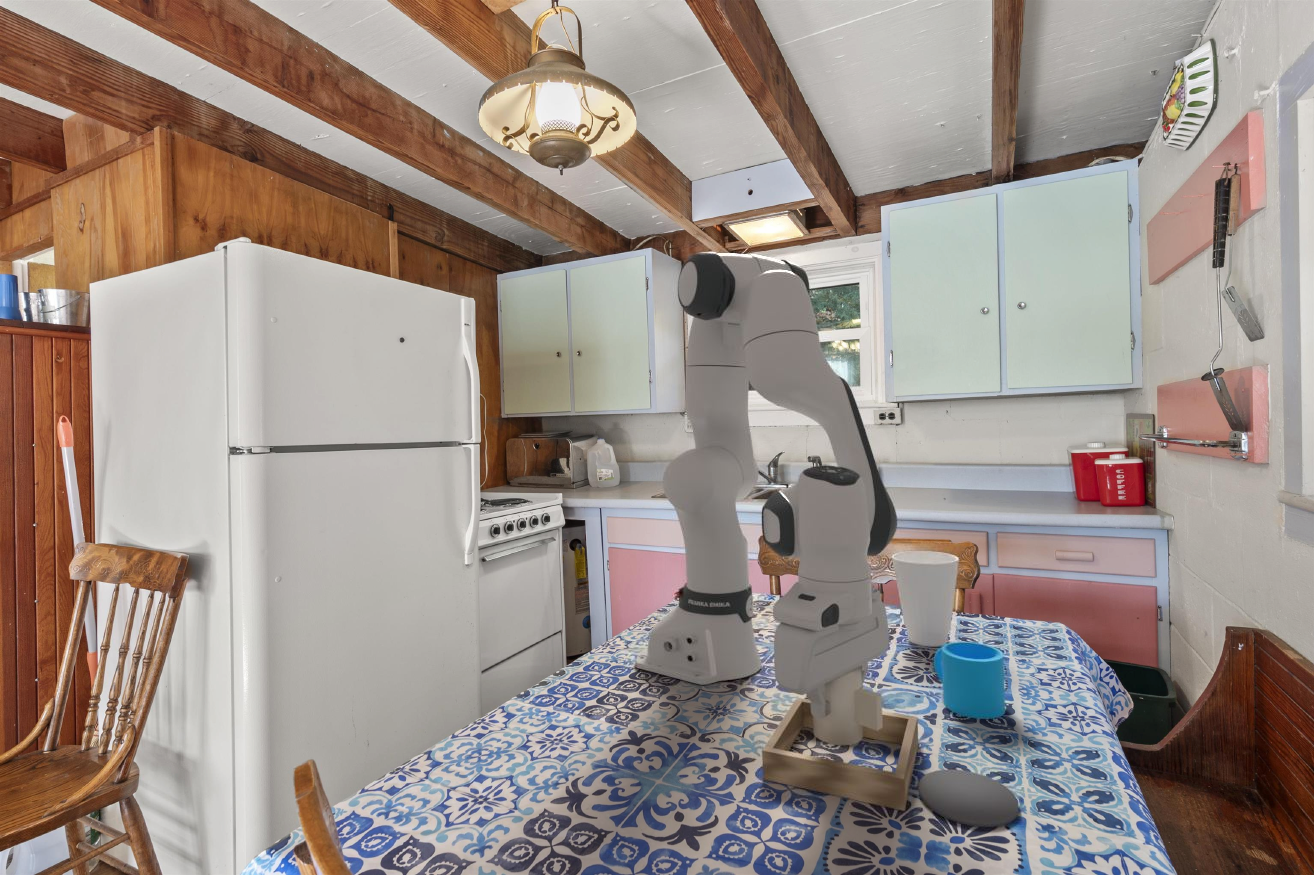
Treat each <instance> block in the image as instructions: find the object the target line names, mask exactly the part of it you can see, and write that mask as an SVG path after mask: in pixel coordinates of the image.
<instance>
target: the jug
mask: <svg viewBox="0 0 1314 875" xmlns="http://www.w3.org/2000/svg"><path fill="white" fill-rule="evenodd" d="M822 694H823V697H824V699H825V700H826V701H829V702H830V708H829V710H830V714H829V715H828V716H826V717H824V718H822V719H819V718H817V717H814V716H813V728H812V729H813V730H812V732H813V735H814V736H815V737H816V738H817V739H818V740H820V741H821V742H824V743H827V744H830V745H836V746H850V745H851V746H852V745H855V744H857V743H859V742H861V741H862V739H863V738H864V737H863V726H866V727H868V728H871V729H874V730H876V731H878V730H879V729H881V728H882V727H883V725H882V711H883V694H881V693H879V692H876V691H872V690H869V689H866V688H862V681H861V670H860V669H859V668H858V667H857V668H855V669H853V670H851V671H849V672H847V673H845V674H843V675H842V676H840V677H838V678H836V679H834V680H832V681H830V682H828V683H826V684H825V691H824V692H822Z"/></svg>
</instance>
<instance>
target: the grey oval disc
mask: <svg viewBox="0 0 1314 875" xmlns="http://www.w3.org/2000/svg"><path fill="white" fill-rule="evenodd" d="M918 794H919V797H920V800H921V802H923V804H924V805H925V806H927V808H929V809H930V810H931V812H934V813H935V814H937V815H939V816H941V817H943V818H945V819H947V820H949V821H952V822H955V823H958V824H961V825H966V826H970V827H978V828H995V827H1001V826H1005V825H1008V824H1010V823H1012V822H1014V820H1016V819H1017V817H1018V815H1019V802H1018V799H1017V796H1016V795H1015V794H1014V793H1013V791H1012V790H1011V789H1009V788H1008V787H1007V786H1006V785H1005V784H1003V783H1001V782H999V781H997V780H996V779H993V778H990V777H989V776H986V775H983V774H980V773H977V772H972V771H970V770H969V771H968V770H963V769H962V770H961V769H939V770H933V771H931V772H930V771H929V773H926V774H925V775H923V776H922V777H921V778H920V779H919V782H918Z"/></svg>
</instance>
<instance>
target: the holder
mask: <svg viewBox="0 0 1314 875" xmlns="http://www.w3.org/2000/svg"><path fill="white" fill-rule="evenodd" d="M918 722H919V721H918V716H914V715H910V714H909V715H908V714H907V715H906V714H901V713H895V712H891V711H890V712H889V711H883V710H882V725H883V727H882V728H881V729H879V730H878V731H876V730H874V729H871V728H868V727H866V726H863V738H865V739H871V740H872V739H873V740H878V741H883V742H888V743H889V742H890V743H895V744H900V745H901V748H900V751H899V756H898V759H897V763H896V764H897V765H896V767H895V771H894V772H893V771H889V770H885V769H877V768H873V767H868V766H864V765H860V764H859V765H858V764H854V763H848V762H844V761H838V760H834V759H828V758H824V757H819V756H814V755H809V754H804V753H798V752H794V751H790V749H791V748H792V746H793V744H794V743H795V741H796V739H797V738H798V736H799V734H800V732H801V730H802V729H803V727H806V728H811V729H813V715H812V714H811V701H810V700H809V698H801V697H796V698H795V700H794V702H793V703H792V705H791V706H790V707H789V709H788V710H787V712H786V713H785V715H784V716H783V718H782V720H781V721H779V724H778V726H777V727H776V729H775V730H774V732H773V733H772V735H771V736H770V738H769V739H768V741H767V742H766V744H765V746H764V747H763V748H762V750H761V754H762V755H761V756H762V757H761V758H762V759H761V760H762V762H761V763H762V780H765V781H770V782H775V783H779V784H784V785H788V786H792V787H796V788H800V789H801V788H802V789H806V790H810V791H814V792H819V793H823V794H827V795H832V796H836V797H840V798H841V797H842V798H846V799H850V800H854V801H859V802H864V803H869V804H873V805H876V806H879V807H886V808H890V809H894V810H899V811H903V812H905V811H906V807H907V801H908V796H909V791H910V788H911V781H912V776H913V772H914V768H915V763H916V762H915V761H916V757H917V751H918V747H919V725H918V724H919V723H918Z"/></svg>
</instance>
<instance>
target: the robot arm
mask: <svg viewBox="0 0 1314 875" xmlns="http://www.w3.org/2000/svg"><path fill="white" fill-rule="evenodd" d="M678 276H679V277H678V279H677V280H678V281H677V297H678V302H679V304H680V306H681V308H682V309H683V311H684V312H685V313H686V314H687V315H689V316H691V317H693V318H692V321H691V326H690V330H689V336H688V341H687V351H686V362H685V364H686V366H685V388H684V389H685V390H684V391H685V393H684V410H685V415H686V416H687V418H688V420H689V422H690V426H691V428H692V429H691V430H692V433H693V438H694V445H695V448H690V449H689V450H686V451H684V452H683V453H680V454H679V455H678V456H676V457H675V458H674V459H672V460H671V461H670V462H669V463H668V465H667V466H666V468H665V470H664V472H663V477H662V487H663V492H664V495H665V497H666V498H667V500H668V502H669V503H670V504H671V505H672V506H673V508H674V510H675V513H676V515H677V519H678V522H679V525H680V529H681V532H682V536H683V543H684V550H685V552H684V555H685V568H686V569H685V570H686V582H685V583H684V585H683V586H682V587H680V588H679V589H678V591H676V592H674V593H673V594H674V595H675V596H674V600H677V599H678V605H677V607H675V608H674V609H673V610H671V611H670V612H669V613H668V614H666V615H665V616H664V617H663V618H661V619H660V620H659V621H657V623H655V624H654V626H653V627H652V628H651V631H650V633H649V637H648V642H647V643H648V645H647V647H646V648H645V649H643V650H642V651H641V652H639V654H638V655H637V657H636V659H635V667H636V668H637V669H641V670H644V671H647V672H652V673H656V674H660V675H663V676H665V677H666V676H667V677H670V678H674V679H679V680H682V681H685V682H689V683H693V684H697V685H704V686H705V685H709V684H712V683H713V684H714V683H717V682H721V681H722V682H723V681H728V680H729V681H730V680H737V679H743V678H746V677H749V676H752V675H754V674H756V673H757V672H759V671H760V669H761V668H762V666H763V664H762V660H761V657H760V653H759V651H758V647H757V643H756V642H757V641H756V638H755V633H754V625H753V617H754V597H753V589H752V588H753V587H752V585H751V583H750V571H749V569H750V568H749V566H750V565H749V545H748V544H749V543H748V540H747V538H746V536H745V535H744V534H743V531H742V528H741V523H740V521H739V517H738V513H737V507H736V506H737V503H738V502H741V501H742V500H744V499H745V498H747V496H749V494H750V493H751V492H752V491H753V490H754V488H755V486H756V484H757V483H758V479H759V475H760V474H759V466H758V463H757V461H756V459H755V456H754V449H753V442H752V437H751V436H752V435H751V428H750V422H749V421H750V420H749V388H750V387H749V384H750V385H751V387H752V388H753V389H754V390H755V392H756V393H758V394H759V395H760V396H761V397H762V398H764V400H766V401H768V402H770V403H771V404H774V405H775V406H778V407H781V408H784V409H786V410H790V411H793V412H796V413H798V414H800V415H803V416H805V417H807V418H809V419H811V420H813V421H814V422H816V423H817V424H819V426H820V427H822V429H823V430H824V432H825V433H826V434H827V437H828V440H829V442H830V446H831V449H832V451H833V456H834V459H835V462H836V465H837V466H835V465H817V466H811V467H807V468H806V469H804V470H802V471H801V473H800V474H799V475H798V479H797V480H798V481H797V482H796V483H794V484H793V485H791V486H789V487H786V488H783V489H781V490H775V492H773V493H772V494H771V495H770V496H769V497H768V498H767V500H766V501H765V503H764V505H762V508H761V532H762V539H763V541H764V543H765V545H767V547H769V548H770V550H771V551H773V552H774V553H775V554H777V555H778V556H780V557H784V558H785V557H786V558H790V559H798V560H799V565H798V571H797V573H798V574H797V576H798V578H797V580H798V581H796V582H794V584H793V585H792V586H791V588H790V589H789V590H788V591H787V592H786V593H785V594H783V596H781V597H780V598H779V599H778V600H777V601H776V602H775V603H774V604H773V607H772V616H773V619H774V621H777V622H779V624H778V625H777V626H776V629H775V631H774V636H773V637H774V638H773V639H774V640H773V662H774V663H773V664H774V665H773V667H774V676H775V678H774V679H775V681H776V682H777V685H778V686H779V687H780V688H781V689H783V690H786V691H788V692H790V693H794V694H796V695H800V696H804V695H806V696H807V699H809V700H810V701H811V714H812V715H813V716H814V717H817V718H819V719H822V718H824V717H826V716H828V715H829V714H830V710H829V708H830V702H829V701H826V700H825V699H824V697H823V694H822V692H824V691H825V684H826V683H828V682H830V681H832V680H834V679H836V678H838V677H840V676H842V675H843V674H845V673H847V672H849V671H851V670H853V669H855V668H857V667H858V668H859V669H860V670H861V681H862V688H863V687H864V682H865V679H866V676H867V673H868V670H869V662H870V661H872V660H875V659H877V658H879V657H881V656H882V655H885V654H886V653H887V652H888V649H889V645H890V632H889V621H888V614H887V610H886V609H887V608H886V606H885V603H884V602H883V601H882V597H881V591H880V590H878V588H877V587H876V586H875V585H874V584H873V583H872V571H871V570H872V569H871V567H870V564H869V561H868V557H875V556H878V555H879V554H880V553H882V552H883V551H884V550H885V549H886V548H887V546H888V545H889V544H890V543H891V541H892V539H894V536H895V534H896V531H897V529H898V516H897V512H896V508H895V506H894V503H893V500H892V499H891V497H890V494H889V492H888V491H887V488H886V487H885V484H884V482H883V481H882V478H881V474H880V473H879V470H878V469H879V468H878V466H877V463H876V458H875V456H874V453H873V450H872V448H871V444H870V441H869V438H868V434H867V432H866V429H865V428H866V427H865V425H864V423H863V422H864V421H863V419H862V416H861V413H860V409H859V407H858V404H857V401H856V399H855V398H856V397H855V396H854V394H853V391H852V389H851V387H850V384H849V382H847V381H846V379H844V378H843V377H841V376H840V375H838V374H837V373H836V372H835V370H834V369H833V368H832V366H831V365H830V364H829V362H828V360H827V358H826V356H825V354H824V351H823V349H822V346H821V340H820V334H819V328H818V323H817V319H816V314H815V312H814V307H813V304H812V300H811V298H810V291H811V290H810V281H809V277H808V274H807V272H806V271H805V269H804V268H802V267H801V266H799V264H796V263H794V262H791V261H789V260H786V259H780V260H778V259H775V258H772V257H768V256H762V255H759V254H751V253H746V254H741V253H717V252H715V251H702V252H697V253H694V254H692V255H690V256H689V257H688V258H687V260H685V262H684V264H683V265H682V267H681V270H680V271H679V275H678Z"/></svg>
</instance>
